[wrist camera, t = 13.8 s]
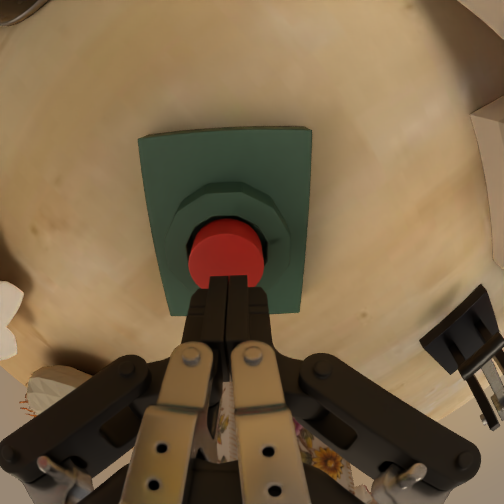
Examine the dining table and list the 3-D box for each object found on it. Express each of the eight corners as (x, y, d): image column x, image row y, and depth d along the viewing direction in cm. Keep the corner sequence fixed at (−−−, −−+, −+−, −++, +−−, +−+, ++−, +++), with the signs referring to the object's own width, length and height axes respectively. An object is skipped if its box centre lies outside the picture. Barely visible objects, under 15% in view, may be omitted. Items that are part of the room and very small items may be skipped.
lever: (453, 361, 17) (463, 379, 15) (493, 325, 15) (506, 341, 13) (487, 413, 18) (493, 428, 15) (518, 386, 16) (526, 400, 14)
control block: (295, 297, 21) (303, 331, 18) (174, 300, 20) (165, 334, 17) (305, 126, 15) (321, 133, 12) (147, 134, 14) (124, 144, 11)
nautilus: (-16, 394, 18) (60, 440, 27) (81, 425, 15) (176, 463, 24) (2, 346, 24) (70, 398, 34) (103, 342, 21) (181, 405, 30)
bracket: (418, 340, 25) (467, 441, 13) (480, 283, 21) (547, 372, 10) (447, 368, 29) (481, 442, 18) (495, 326, 26) (539, 394, 14)
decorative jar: (280, 426, 32) (292, 546, 17) (195, 411, 29) (187, 548, 14) (335, 381, 27) (369, 536, 11) (233, 359, 24) (234, 560, 8)
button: (261, 276, 16) (264, 296, 14) (197, 278, 16) (193, 298, 14) (261, 216, 14) (264, 232, 12) (189, 219, 14) (182, 235, 12)
